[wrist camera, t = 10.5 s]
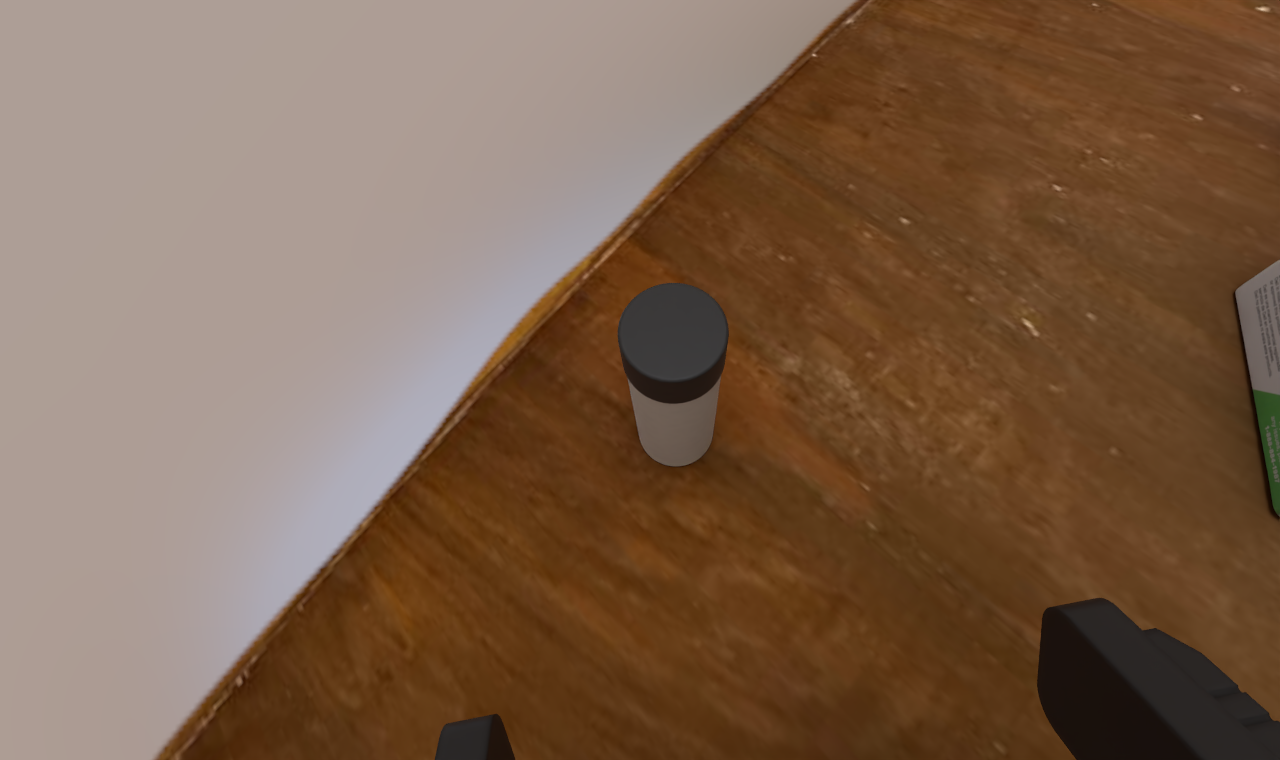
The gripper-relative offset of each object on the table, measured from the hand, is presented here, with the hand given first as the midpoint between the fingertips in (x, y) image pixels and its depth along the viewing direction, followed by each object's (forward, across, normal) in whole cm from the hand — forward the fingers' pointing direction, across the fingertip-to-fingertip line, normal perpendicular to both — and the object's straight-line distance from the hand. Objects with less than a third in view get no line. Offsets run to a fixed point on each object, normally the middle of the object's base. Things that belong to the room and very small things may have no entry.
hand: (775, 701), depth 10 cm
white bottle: (+14, 0, +3) cm, 14 cm away
